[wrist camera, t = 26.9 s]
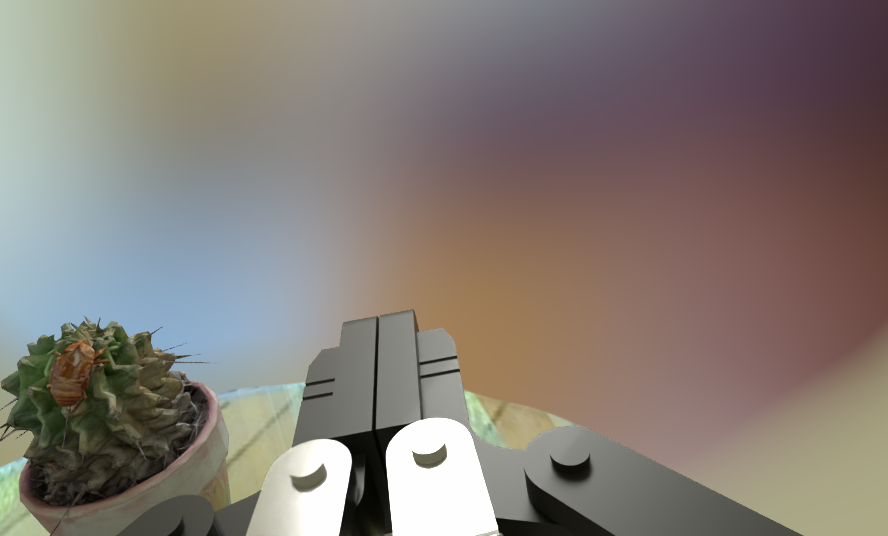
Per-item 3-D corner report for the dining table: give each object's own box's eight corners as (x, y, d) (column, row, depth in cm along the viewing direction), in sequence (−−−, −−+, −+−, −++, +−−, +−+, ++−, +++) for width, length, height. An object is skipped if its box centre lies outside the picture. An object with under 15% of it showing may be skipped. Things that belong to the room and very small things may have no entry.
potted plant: (184, 447, 67) (91, 251, 56) (314, 496, 57) (231, 271, 46) (24, 584, 53) (-141, 362, 42) (158, 678, 44) (-11, 421, 33)
